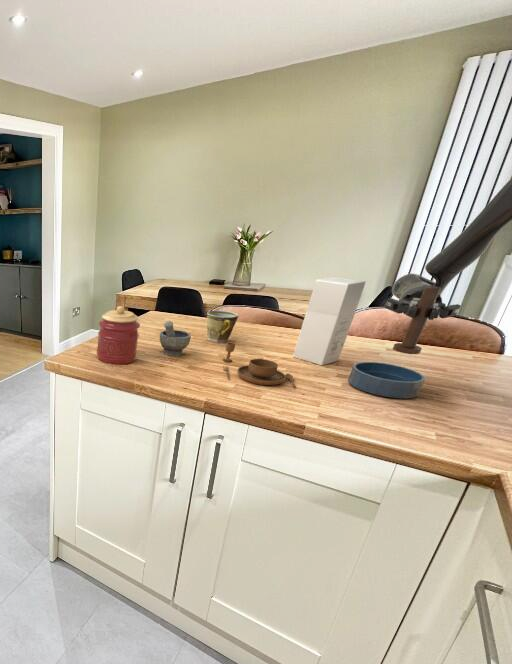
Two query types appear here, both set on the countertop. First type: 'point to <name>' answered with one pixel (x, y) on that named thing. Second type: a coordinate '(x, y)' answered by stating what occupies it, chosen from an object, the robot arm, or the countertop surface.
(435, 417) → the countertop surface
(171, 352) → the mortar and pestle
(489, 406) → the countertop surface
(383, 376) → the bowl
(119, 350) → the kitchen canister
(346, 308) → the tall white carton
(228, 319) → the ceramic cup
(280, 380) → the place setting
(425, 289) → the brown post with base
